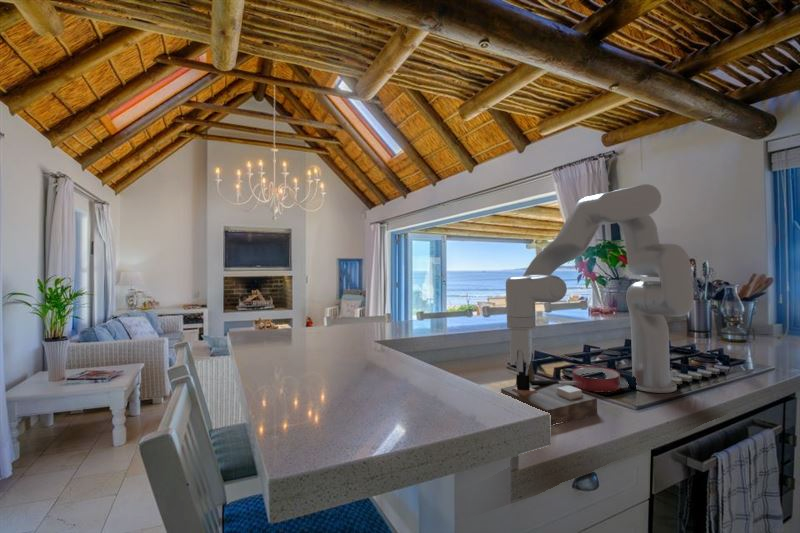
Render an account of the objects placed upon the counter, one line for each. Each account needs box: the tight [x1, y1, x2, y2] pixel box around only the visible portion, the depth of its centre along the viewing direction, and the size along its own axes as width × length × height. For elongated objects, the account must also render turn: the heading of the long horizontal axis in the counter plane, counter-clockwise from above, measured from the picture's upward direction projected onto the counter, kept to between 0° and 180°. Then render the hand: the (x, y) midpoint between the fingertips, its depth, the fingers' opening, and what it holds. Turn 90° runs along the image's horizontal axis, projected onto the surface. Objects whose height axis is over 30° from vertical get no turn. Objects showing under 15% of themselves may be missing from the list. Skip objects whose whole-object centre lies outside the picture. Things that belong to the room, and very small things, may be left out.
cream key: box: [557, 385, 583, 400], centre depth 103 cm, size 4×4×3 cm
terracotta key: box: [513, 387, 536, 396], centre depth 107 cm, size 4×4×3 cm
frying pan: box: [530, 365, 621, 392], centre depth 116 cm, size 32×13×6 cm, turn 120°
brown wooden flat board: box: [500, 378, 598, 426], centre depth 105 cm, size 16×18×4 cm
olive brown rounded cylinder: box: [515, 352, 536, 385], centre depth 125 cm, size 6×6×11 cm
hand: (523, 388), depth 107 cm, fingers closed
